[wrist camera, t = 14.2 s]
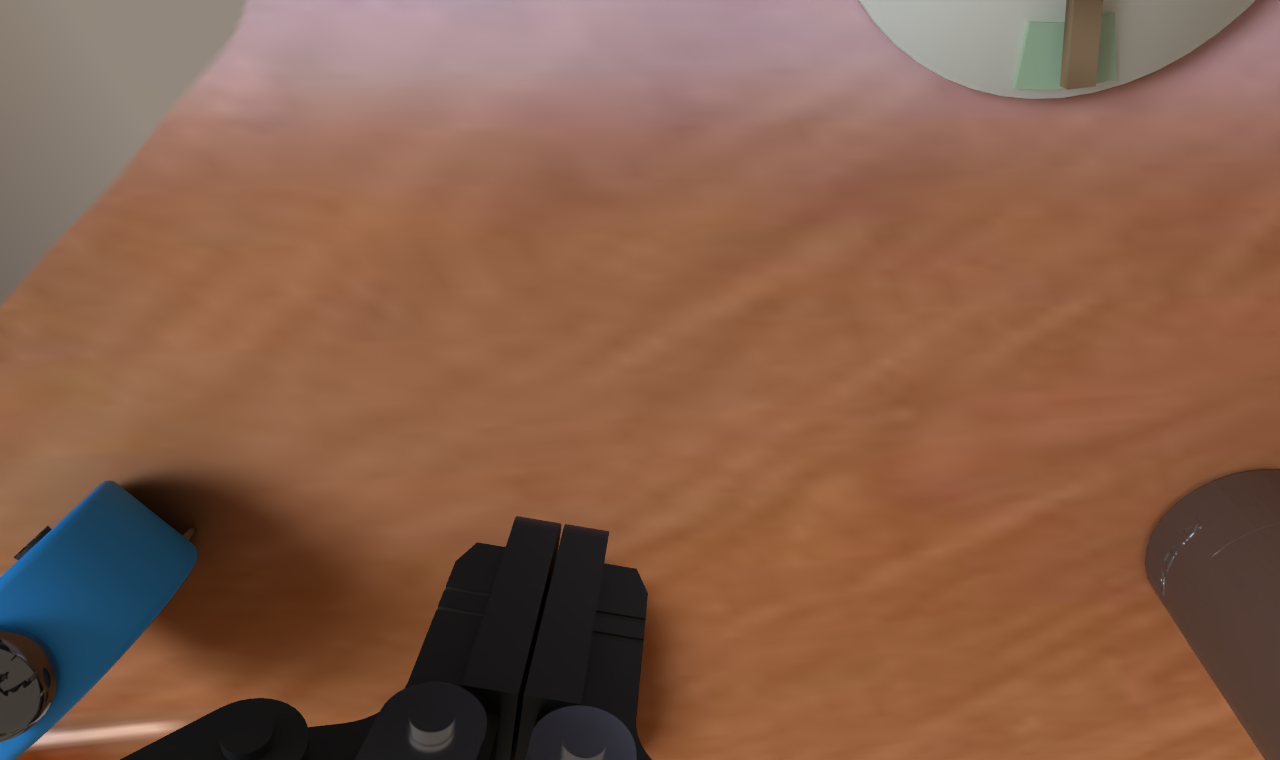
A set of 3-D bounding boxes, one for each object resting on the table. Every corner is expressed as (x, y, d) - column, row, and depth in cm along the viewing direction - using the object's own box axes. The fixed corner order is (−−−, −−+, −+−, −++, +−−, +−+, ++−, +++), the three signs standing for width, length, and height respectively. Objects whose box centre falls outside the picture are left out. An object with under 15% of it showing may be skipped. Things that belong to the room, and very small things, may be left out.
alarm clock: (107, 623, 53) (-96, 861, 40) (16, 556, 51) (-228, 782, 38) (243, 510, 48) (66, 735, 35) (149, 432, 47) (-76, 638, 33)
